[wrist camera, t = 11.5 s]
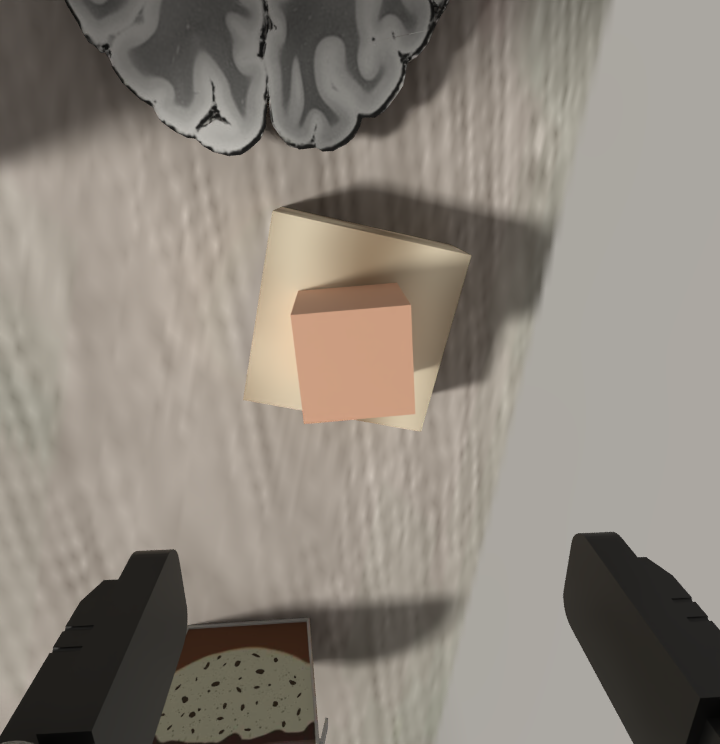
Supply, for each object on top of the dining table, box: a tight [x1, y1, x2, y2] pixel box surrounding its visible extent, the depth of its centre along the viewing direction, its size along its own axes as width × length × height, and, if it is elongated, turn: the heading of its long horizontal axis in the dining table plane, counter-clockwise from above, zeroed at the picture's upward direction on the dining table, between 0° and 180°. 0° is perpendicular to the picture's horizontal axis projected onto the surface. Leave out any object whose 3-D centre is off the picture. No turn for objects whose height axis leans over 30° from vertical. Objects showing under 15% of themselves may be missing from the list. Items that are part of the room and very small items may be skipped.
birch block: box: [243, 207, 472, 432], centre depth 29 cm, size 10×10×5 cm
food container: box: [152, 618, 328, 744], centre depth 35 cm, size 12×6×10 cm, turn 92°
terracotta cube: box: [290, 283, 415, 424], centre depth 24 cm, size 5×5×5 cm
